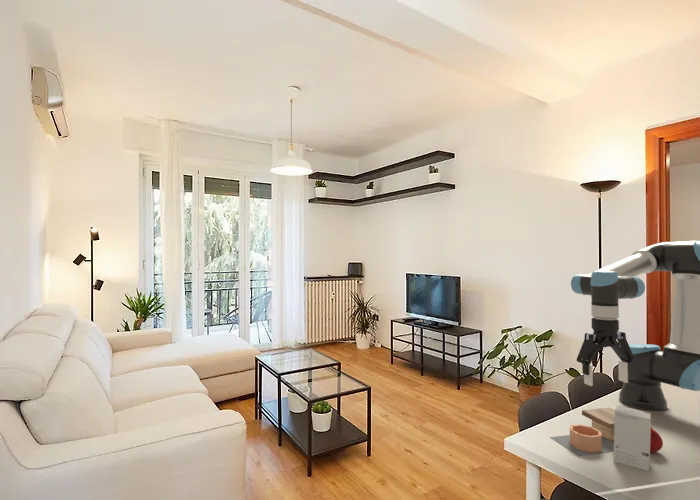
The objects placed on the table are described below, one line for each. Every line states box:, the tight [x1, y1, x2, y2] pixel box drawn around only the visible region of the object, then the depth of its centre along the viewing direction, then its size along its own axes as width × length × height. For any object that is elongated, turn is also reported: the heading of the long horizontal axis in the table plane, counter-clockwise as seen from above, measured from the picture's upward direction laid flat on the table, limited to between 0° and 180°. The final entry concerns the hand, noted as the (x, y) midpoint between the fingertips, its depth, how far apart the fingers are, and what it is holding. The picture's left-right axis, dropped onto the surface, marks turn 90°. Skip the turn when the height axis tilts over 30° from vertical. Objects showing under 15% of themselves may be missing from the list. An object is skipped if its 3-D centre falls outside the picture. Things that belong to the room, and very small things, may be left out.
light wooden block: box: [591, 420, 614, 441], centre depth 126 cm, size 7×7×5 cm
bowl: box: [569, 423, 603, 453], centre depth 118 cm, size 8×8×4 cm
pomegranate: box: [650, 425, 664, 454], centre depth 115 cm, size 6×6×8 cm
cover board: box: [581, 407, 615, 429], centre depth 126 cm, size 11×11×2 cm
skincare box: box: [612, 405, 652, 472], centre depth 109 cm, size 8×6×15 cm
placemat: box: [549, 434, 614, 457], centre depth 120 cm, size 16×12×1 cm
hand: (606, 383), depth 127 cm, fingers open, 13 cm apart
